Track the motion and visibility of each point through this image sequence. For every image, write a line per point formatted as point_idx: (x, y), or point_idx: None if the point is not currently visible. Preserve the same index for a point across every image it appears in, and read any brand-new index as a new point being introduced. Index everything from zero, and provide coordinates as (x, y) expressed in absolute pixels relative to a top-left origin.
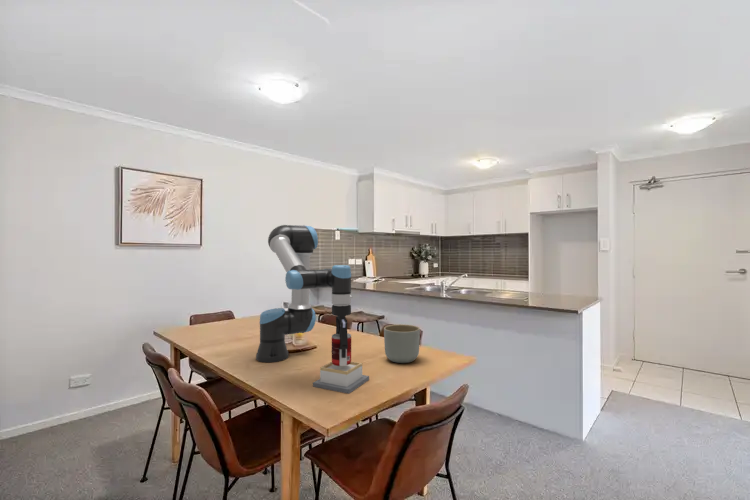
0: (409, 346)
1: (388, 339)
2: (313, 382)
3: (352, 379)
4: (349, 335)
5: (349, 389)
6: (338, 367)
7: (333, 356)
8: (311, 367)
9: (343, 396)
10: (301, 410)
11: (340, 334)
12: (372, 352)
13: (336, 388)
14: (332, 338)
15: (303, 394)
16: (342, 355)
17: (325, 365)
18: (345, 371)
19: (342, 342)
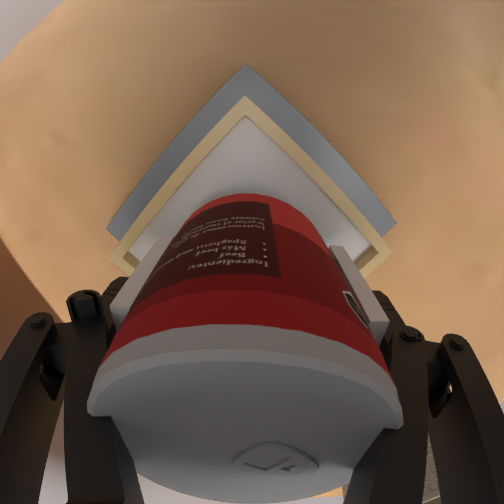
0: (344, 493)
1: None
2: (247, 66)
3: None
4: (218, 493)
5: (110, 232)
6: None
7: (203, 216)
8: (497, 137)
9: (92, 196)
10: (27, 43)
11: (66, 455)
12: (492, 376)
13: (145, 176)
14: (185, 320)
15: (158, 24)
16: (107, 291)
17: (282, 142)
18: (119, 252)
19: (9, 366)
